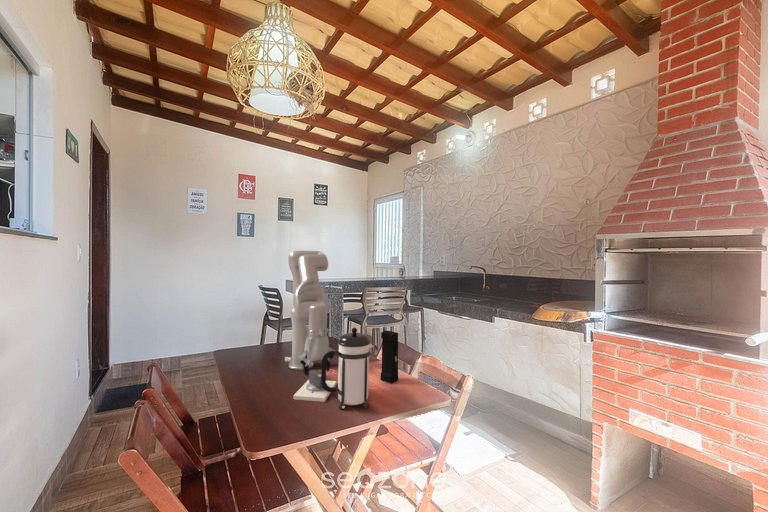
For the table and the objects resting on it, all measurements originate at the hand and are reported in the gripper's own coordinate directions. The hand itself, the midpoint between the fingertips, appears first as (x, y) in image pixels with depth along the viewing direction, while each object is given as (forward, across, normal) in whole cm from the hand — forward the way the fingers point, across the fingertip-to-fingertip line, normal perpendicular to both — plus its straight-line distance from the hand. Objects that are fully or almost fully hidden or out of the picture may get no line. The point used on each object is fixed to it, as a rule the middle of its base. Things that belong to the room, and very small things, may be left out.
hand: (316, 372), depth 147 cm
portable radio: (+8, -33, +10) cm, 35 cm away
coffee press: (+7, -5, +20) cm, 22 cm away
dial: (+6, 0, +1) cm, 6 cm away
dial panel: (+8, 0, +1) cm, 8 cm away
